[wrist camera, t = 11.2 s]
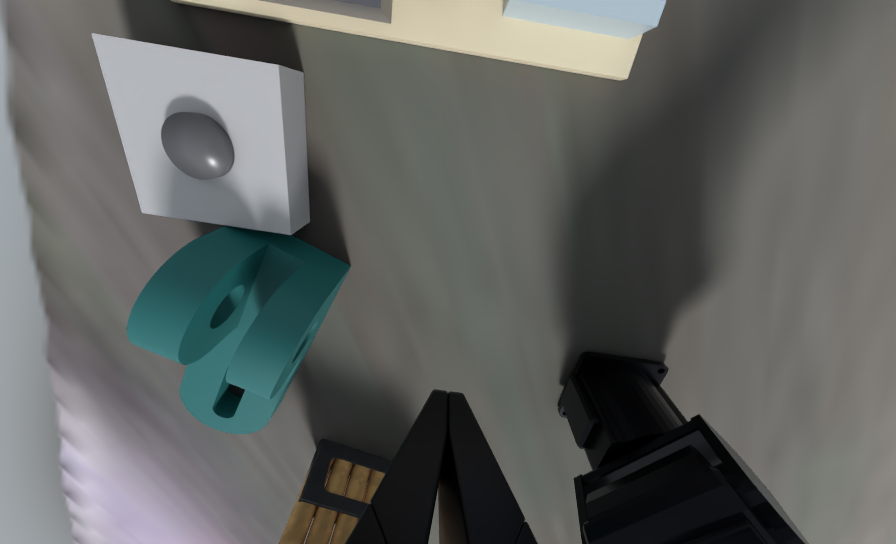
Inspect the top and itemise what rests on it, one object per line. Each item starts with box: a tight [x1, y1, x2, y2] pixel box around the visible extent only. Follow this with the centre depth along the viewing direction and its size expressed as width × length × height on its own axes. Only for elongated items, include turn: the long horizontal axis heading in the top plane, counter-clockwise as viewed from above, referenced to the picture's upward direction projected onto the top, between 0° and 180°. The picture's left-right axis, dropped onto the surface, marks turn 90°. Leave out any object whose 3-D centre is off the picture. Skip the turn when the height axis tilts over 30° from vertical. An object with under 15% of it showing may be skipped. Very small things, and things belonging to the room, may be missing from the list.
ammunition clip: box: [279, 439, 392, 544], centre depth 24 cm, size 11×2×12 cm, turn 64°
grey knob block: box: [92, 33, 310, 235], centre depth 16 cm, size 8×8×3 cm
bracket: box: [127, 225, 351, 434], centre depth 20 cm, size 18×7×8 cm, turn 149°
